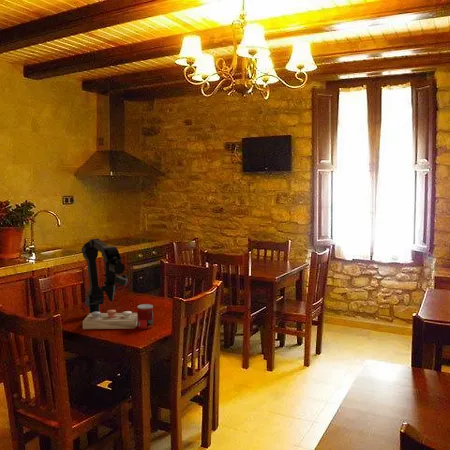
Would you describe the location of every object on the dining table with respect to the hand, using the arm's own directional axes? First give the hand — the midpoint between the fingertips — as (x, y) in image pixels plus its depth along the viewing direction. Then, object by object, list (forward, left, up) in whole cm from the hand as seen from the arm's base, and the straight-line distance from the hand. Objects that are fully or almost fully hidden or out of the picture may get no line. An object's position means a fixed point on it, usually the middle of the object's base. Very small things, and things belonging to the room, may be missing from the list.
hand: (111, 301), depth 234 cm
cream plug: (0, +8, -12) cm, 14 cm away
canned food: (+5, +18, -13) cm, 22 cm away
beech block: (0, 0, -12) cm, 12 cm away
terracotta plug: (0, 0, -11) cm, 11 cm away
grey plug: (0, -8, -12) cm, 14 cm away
